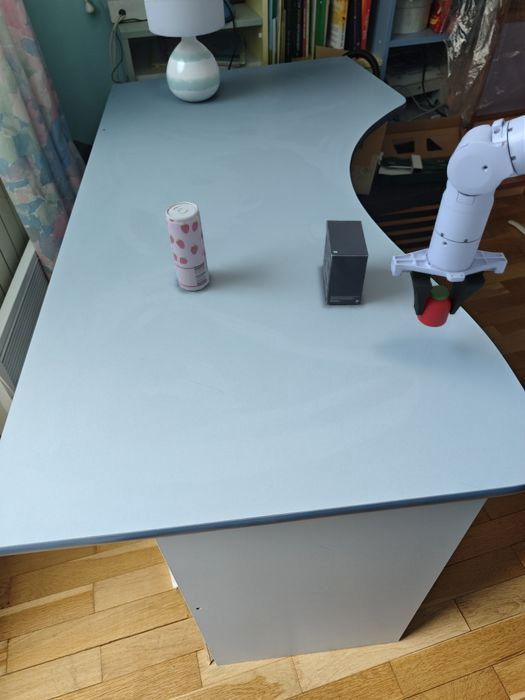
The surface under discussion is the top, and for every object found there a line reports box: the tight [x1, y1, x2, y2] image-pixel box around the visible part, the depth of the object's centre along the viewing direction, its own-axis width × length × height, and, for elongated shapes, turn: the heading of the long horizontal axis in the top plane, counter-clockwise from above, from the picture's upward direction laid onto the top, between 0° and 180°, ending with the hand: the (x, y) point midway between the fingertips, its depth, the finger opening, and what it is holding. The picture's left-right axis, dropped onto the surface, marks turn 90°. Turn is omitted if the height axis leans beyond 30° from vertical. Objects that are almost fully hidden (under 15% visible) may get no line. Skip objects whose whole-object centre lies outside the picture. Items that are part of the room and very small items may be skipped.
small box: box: [321, 219, 370, 305], centre depth 84 cm, size 11×6×10 cm, turn 179°
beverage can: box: [165, 201, 210, 292], centre depth 84 cm, size 6×6×15 cm
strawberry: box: [416, 284, 451, 328], centre depth 70 cm, size 4×4×5 cm
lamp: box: [143, 0, 226, 103], centre depth 138 cm, size 22×22×40 cm
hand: (433, 310), depth 70 cm, fingers closed on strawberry, 4 cm apart
